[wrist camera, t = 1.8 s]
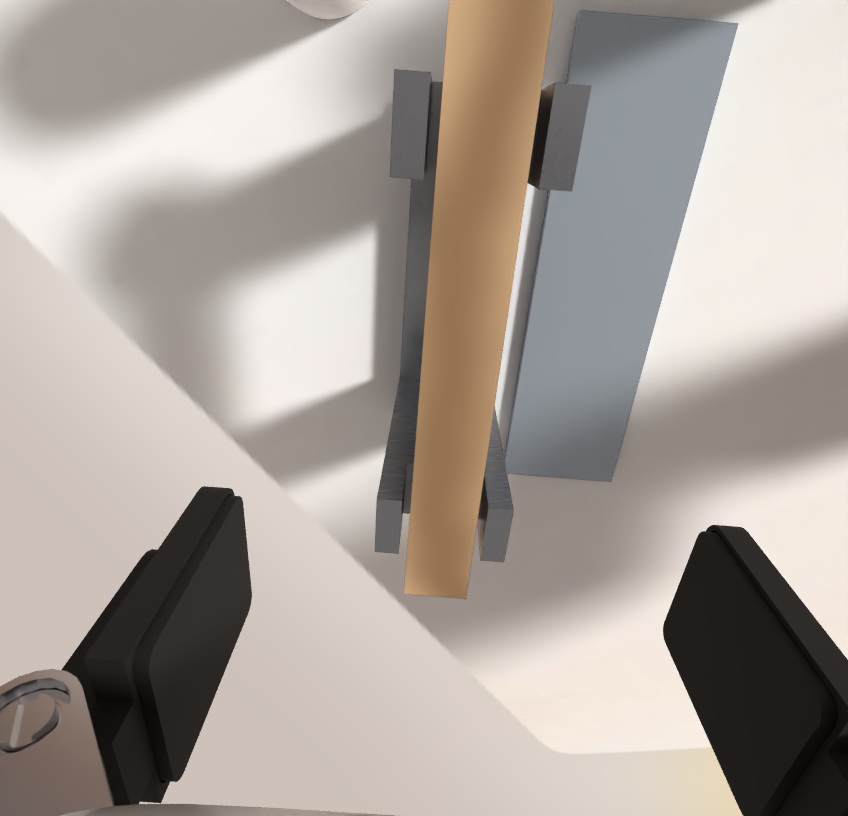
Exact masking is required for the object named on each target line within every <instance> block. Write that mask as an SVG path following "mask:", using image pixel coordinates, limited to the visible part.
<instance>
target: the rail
mask: <svg viewBox="0 0 848 816" xmlns="http://www.w3.org/2000/svg"><path fill="white" fill-rule="evenodd" d="M553 7H554V0H449V10H448V23H447V37H446V50H445V63H444V76H443V89H442V102H441V115H440V128H439V142H438V155H437V168H436V181H435V194H434V207H433V220H432V234H431V247H430V260H429V273H428V286H427V299H426V312H425V325H424V339H423V352H422V365H421V378H420V391H419V404H418V417H417V430H416V444H415V457H414V470H413V483H412V496H411V509H410V522H409V535H408V549H407V562H406V575H405V588H404V594H410V595H422V596H435V597H447V598H460V599H466V595H467V588H468V581H469V574H470V568H471V561H472V554H473V547H474V541H475V534H476V527H477V520H478V514H479V507H480V500H481V493H482V486H483V480H484V473H485V466H486V459H487V453H488V446H489V439H490V432H491V426H492V419H493V412H494V405H495V399H496V392H497V385H498V378H499V372H500V365H501V358H502V351H503V345H504V338H505V331H506V324H507V317H508V311H509V304H510V297H511V290H512V284H513V277H514V270H515V263H516V257H517V250H518V243H519V236H520V230H521V223H522V216H523V209H524V203H525V196H526V189H527V182H528V176H529V169H530V162H531V155H532V148H533V142H534V135H535V128H536V121H537V115H538V108H539V101H540V94H541V88H542V81H543V74H544V67H545V61H546V54H547V47H548V40H549V34H550V27H551V20H552V13H553Z"/></svg>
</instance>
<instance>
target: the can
mask: <svg viewBox="0 0 848 816" xmlns="http://www.w3.org/2000/svg"><path fill="white" fill-rule="evenodd" d="M286 1H287V2H289V3H290V4H291V5H293V6H294V7H295V8H297V9H298V10H300V11H302V12H304V13H306V14H308V15H310V16H313V17H316V18H321V19H337V18H342V17H345V16H348V15H350V14H352V13H354V12H356V11H357V10H359V9H360V8H361V7H363V6H364V5H365V4H366V3H367V2H368V1H369V0H286Z"/></svg>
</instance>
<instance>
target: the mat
mask: <svg viewBox="0 0 848 816" xmlns="http://www.w3.org/2000/svg"><path fill="white" fill-rule="evenodd" d="M737 27H738V23H728V22H716V21H704V20H692V19H680V18H667V17H655V16H643V15H631V14H619V13H606V12H594V11H582V10H581V11H579V12H578V16H577V22H576V28H575V34H574V40H573V46H572V52H571V58H570V64H569V70H568V76H567V84H579V85H591V86H592V87H591V92H590V98H589V103H588V109H587V114H586V120H585V125H584V130H583V136H582V141H581V147H580V152H579V158H578V163H577V168H576V174H575V179H574V185H573V190H572V192H570V191H558V190H549V191H548V197H547V203H546V209H545V215H544V222H543V228H542V234H541V240H540V246H539V252H538V258H537V264H536V270H535V276H534V282H533V288H532V294H531V300H530V306H529V312H528V318H527V324H526V330H525V336H524V342H523V348H522V354H521V361H520V367H519V373H518V379H517V385H516V391H515V397H514V403H513V409H512V415H511V421H510V427H509V433H508V439H507V445H506V451H505V457H504V461H505V466H506V472H507V474H519V475H531V476H544V477H556V478H568V479H581V480H593V481H605V482H611V480H612V477H613V473H614V469H615V466H616V462H617V459H618V455H619V451H620V448H621V444H622V441H623V437H624V433H625V430H626V426H627V423H628V419H629V415H630V412H631V408H632V405H633V401H634V397H635V394H636V390H637V387H638V383H639V379H640V376H641V372H642V369H643V365H644V361H645V358H646V354H647V351H648V347H649V343H650V340H651V336H652V333H653V329H654V325H655V322H656V318H657V315H658V311H659V307H660V304H661V300H662V297H663V293H664V289H665V286H666V282H667V279H668V275H669V271H670V268H671V264H672V261H673V257H674V253H675V250H676V246H677V243H678V239H679V235H680V232H681V228H682V225H683V221H684V217H685V214H686V210H687V207H688V203H689V199H690V196H691V192H692V189H693V185H694V181H695V178H696V174H697V171H698V167H699V163H700V160H701V156H702V153H703V149H704V145H705V142H706V138H707V135H708V131H709V127H710V124H711V120H712V117H713V113H714V109H715V106H716V102H717V99H718V95H719V91H720V88H721V84H722V81H723V77H724V73H725V70H726V66H727V63H728V59H729V55H730V52H731V48H732V45H733V41H734V37H735V34H736V30H737Z"/></svg>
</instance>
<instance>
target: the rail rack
mask: <svg viewBox="0 0 848 816" xmlns="http://www.w3.org/2000/svg"><path fill="white" fill-rule="evenodd" d="M591 87H592V86H591V85H579V84H567V83H554V84H552V85H550V86H548V87H546V88H544V89H542V90H541V94H540V101H539V108H538V115H537V121H536V128H535V135H534V142H533V148H532V155H531V162H530V169H529V176H528V182H527V183H529V184H531V185H532V186H534V187H536V188H538V189H546V190H558V191H570V192H572V190H573V185H574V179H575V174H576V168H577V163H578V158H579V152H580V147H581V141H582V136H583V130H584V125H585V120H586V114H587V109H588V103H589V98H590V92H591ZM442 89H443V82H433V81H432V77H431V72H420V71H408V70H396V69H394V90H393V114H392V139H391V163H390V177H399V178H411V195H410V212H409V230H408V247H407V265H406V282H405V300H404V317H403V334H402V352H401V369H400V380H399V385H398V390H397V395H396V401H395V406H394V411H393V417H392V422H391V427H390V432H389V438H388V443H387V448H386V454H385V459H384V464H383V469H382V475H381V480H380V485H379V490H378V496H377V508H376V533H375V552H384V553H396V554H398V553H399V544H400V535H401V527H402V518H403V513H407V514H410V509H411V496H412V483H413V470H414V457H415V444H416V430H417V417H418V404H419V391H420V378H421V365H422V352H423V339H424V325H425V312H426V299H427V286H428V273H429V260H430V247H431V234H432V220H433V207H434V194H435V181H436V168H437V155H438V142H439V128H440V115H441V102H442ZM513 511H514V510H513V504H512V499H511V493H510V488H509V482H508V477H507V472H506V466H505V461H504V455H503V450H502V444H501V439H500V434H499V428H498V423H497V417H496V412H495V406H494V412H493V419H492V426H491V432H490V439H489V446H488V453H487V459H486V466H485V473H484V480H483V486H482V493H481V500H480V507H479V514H478V520H477V527H478V539H479V551H480V560H483V561H495V562H504V559H505V554H506V549H507V543H508V538H509V532H510V527H511V521H512V516H513Z"/></svg>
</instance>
